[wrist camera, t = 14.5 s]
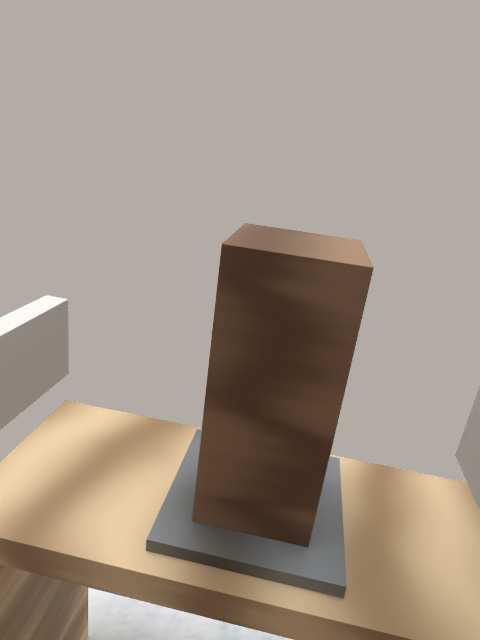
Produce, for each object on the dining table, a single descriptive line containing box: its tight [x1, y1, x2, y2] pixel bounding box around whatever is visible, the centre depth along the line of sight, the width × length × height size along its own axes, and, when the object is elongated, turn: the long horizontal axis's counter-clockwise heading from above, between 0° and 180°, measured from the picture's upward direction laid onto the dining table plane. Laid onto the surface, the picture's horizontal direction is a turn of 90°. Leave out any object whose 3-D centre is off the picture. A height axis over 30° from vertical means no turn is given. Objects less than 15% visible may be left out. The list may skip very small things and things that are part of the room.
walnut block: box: [192, 223, 373, 547], centre depth 19 cm, size 5×5×12 cm
